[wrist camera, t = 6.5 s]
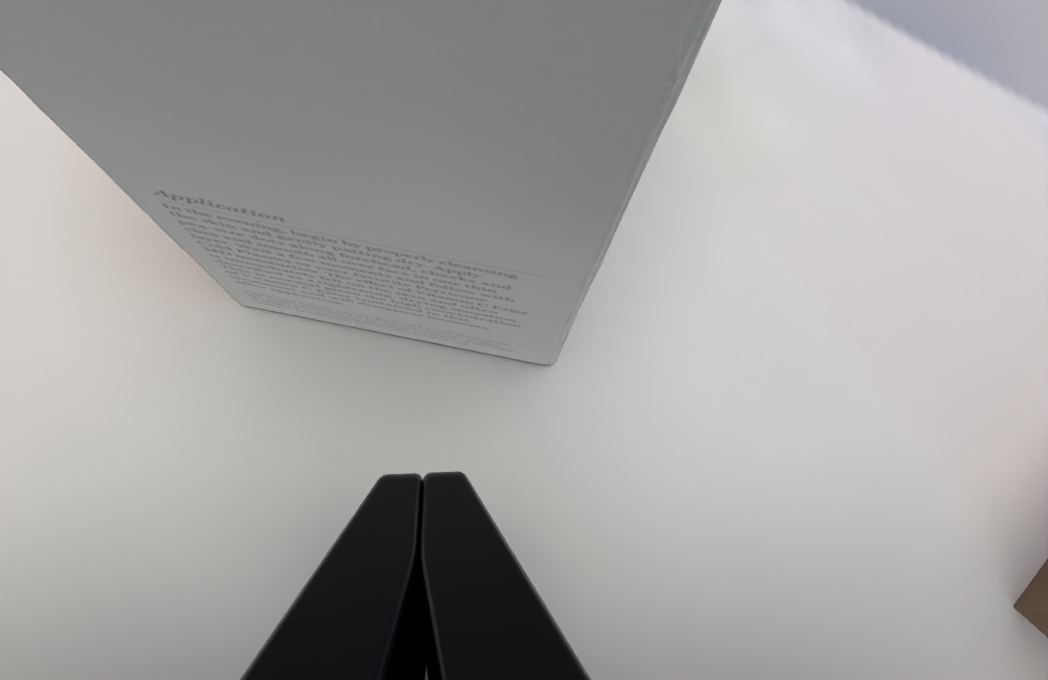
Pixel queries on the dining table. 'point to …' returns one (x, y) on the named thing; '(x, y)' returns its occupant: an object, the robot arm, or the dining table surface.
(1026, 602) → the walnut block one
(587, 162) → the small box
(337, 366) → the dining table surface
